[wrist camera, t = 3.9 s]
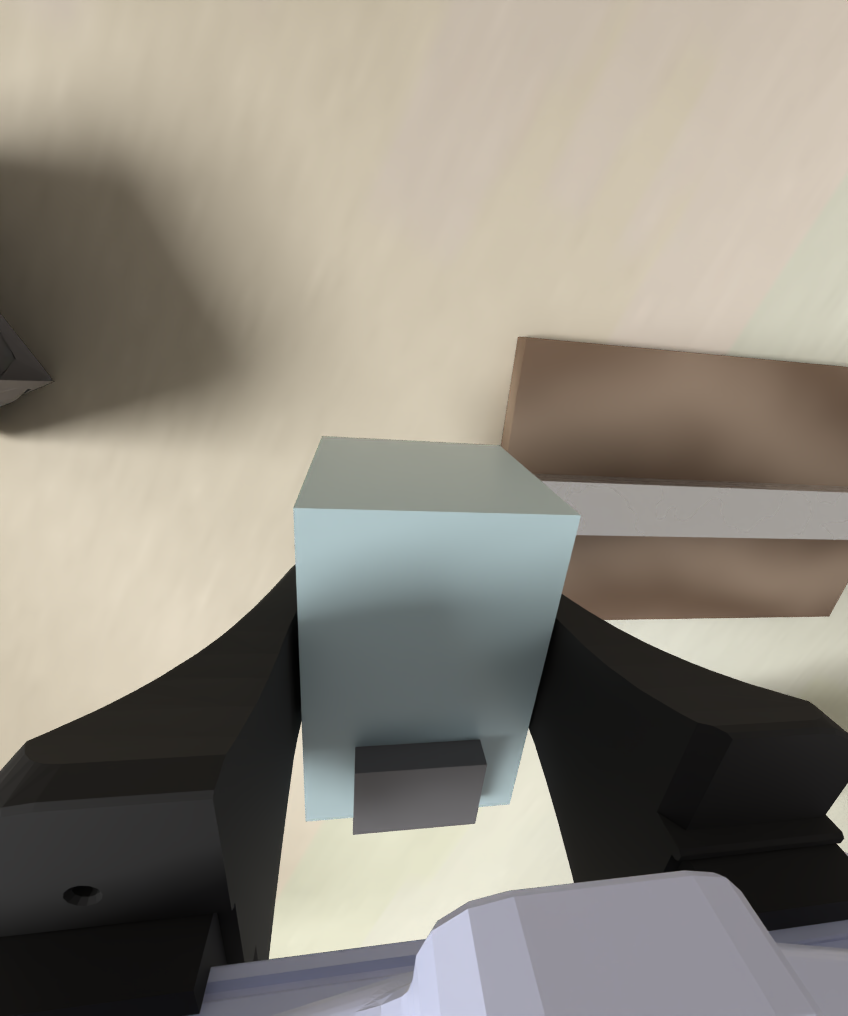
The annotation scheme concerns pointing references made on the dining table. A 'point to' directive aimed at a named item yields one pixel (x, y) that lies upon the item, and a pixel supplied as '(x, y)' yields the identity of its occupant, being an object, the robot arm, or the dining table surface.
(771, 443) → the rail board
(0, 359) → the electrical switch
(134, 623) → the dining table surface
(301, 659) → the module
